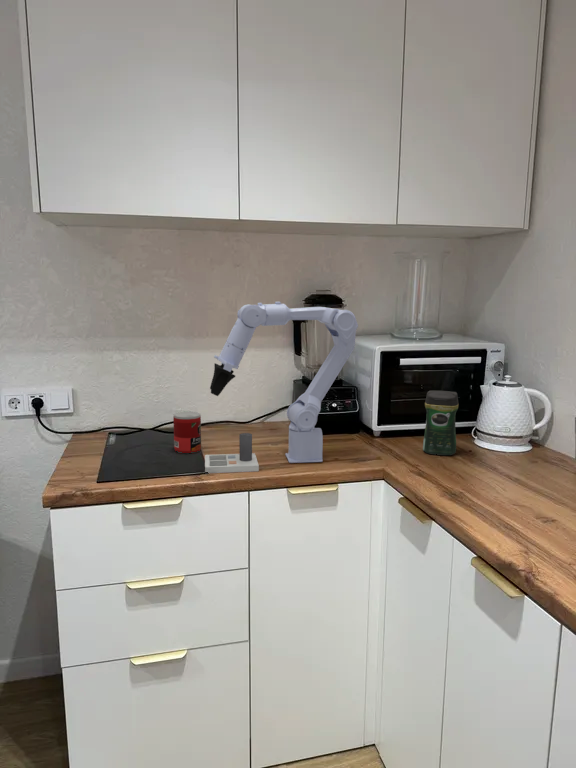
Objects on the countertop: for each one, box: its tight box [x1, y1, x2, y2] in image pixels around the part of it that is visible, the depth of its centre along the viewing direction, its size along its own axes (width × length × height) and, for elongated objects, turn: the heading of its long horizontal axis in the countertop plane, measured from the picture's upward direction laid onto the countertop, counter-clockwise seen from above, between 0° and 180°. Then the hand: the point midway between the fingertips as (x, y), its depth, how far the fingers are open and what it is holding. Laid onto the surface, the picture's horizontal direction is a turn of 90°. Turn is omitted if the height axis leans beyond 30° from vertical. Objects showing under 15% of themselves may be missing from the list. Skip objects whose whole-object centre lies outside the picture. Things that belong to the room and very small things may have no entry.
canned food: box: [173, 411, 202, 454], centre depth 168 cm, size 8×8×11 cm
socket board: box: [204, 452, 260, 474], centre depth 155 cm, size 14×11×2 cm
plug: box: [238, 432, 253, 461], centre depth 155 cm, size 3×3×7 cm
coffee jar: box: [422, 390, 459, 456], centre depth 169 cm, size 10×8×19 cm
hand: (213, 392), depth 153 cm, fingers open, 7 cm apart
